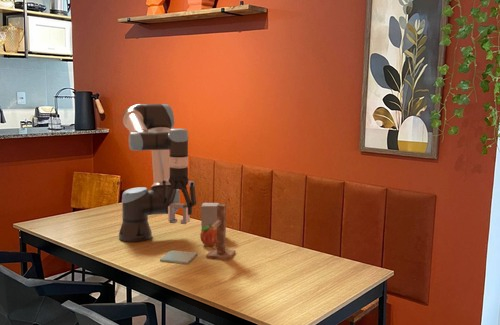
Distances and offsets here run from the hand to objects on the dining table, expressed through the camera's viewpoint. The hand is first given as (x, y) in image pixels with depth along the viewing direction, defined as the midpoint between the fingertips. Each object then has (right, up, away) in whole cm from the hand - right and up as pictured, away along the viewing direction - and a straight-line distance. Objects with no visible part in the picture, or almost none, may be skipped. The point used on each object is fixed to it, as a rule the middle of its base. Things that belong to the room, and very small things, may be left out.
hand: (178, 221), depth 209 cm
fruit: (+11, -13, +20) cm, 27 cm away
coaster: (0, -16, +2) cm, 16 cm away
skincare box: (+10, -11, +35) cm, 38 cm away
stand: (+16, -16, +3) cm, 23 cm away
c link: (0, -1, 0) cm, 1 cm away
